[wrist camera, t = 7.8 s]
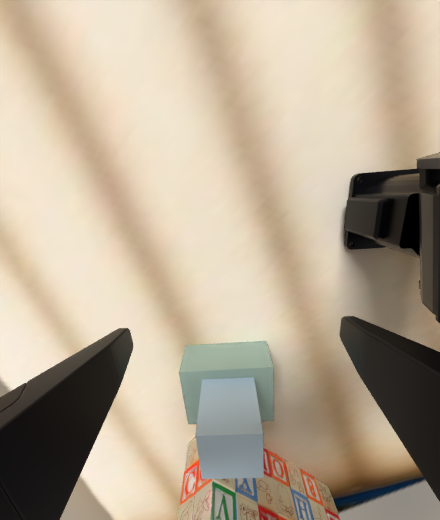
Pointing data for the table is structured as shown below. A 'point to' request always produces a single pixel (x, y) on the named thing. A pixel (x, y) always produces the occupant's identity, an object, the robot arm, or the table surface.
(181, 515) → the stack of blocks
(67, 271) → the table surface
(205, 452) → the cube
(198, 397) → the pale green block
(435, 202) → the robot arm
